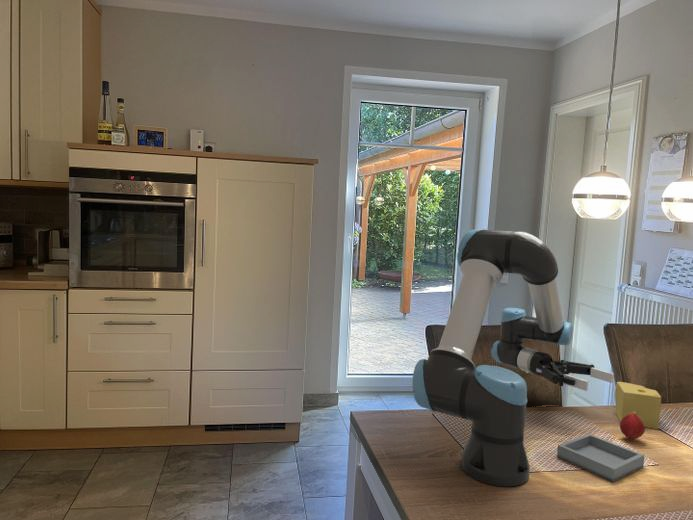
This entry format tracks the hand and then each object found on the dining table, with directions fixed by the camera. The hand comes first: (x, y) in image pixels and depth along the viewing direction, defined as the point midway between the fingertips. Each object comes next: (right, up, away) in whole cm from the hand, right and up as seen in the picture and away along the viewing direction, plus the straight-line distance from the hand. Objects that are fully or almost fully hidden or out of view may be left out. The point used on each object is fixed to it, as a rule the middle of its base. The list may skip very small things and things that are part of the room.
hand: (600, 382), depth 145 cm
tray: (-11, -14, -21) cm, 28 cm away
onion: (+5, -14, -7) cm, 17 cm away
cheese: (+14, -14, +7) cm, 21 cm away
